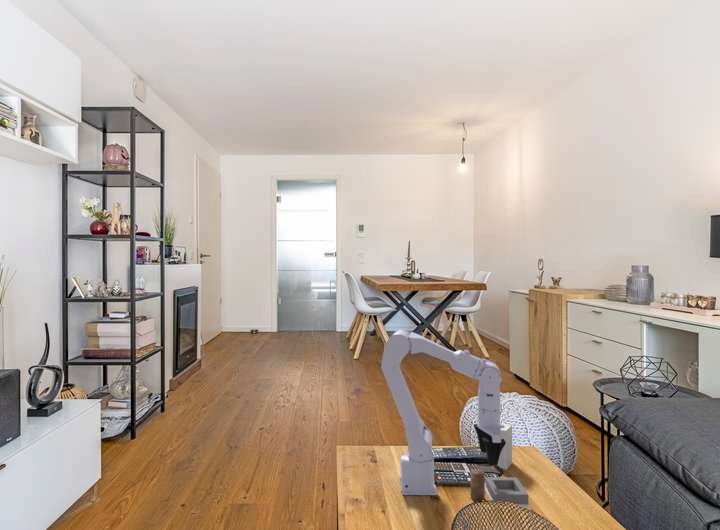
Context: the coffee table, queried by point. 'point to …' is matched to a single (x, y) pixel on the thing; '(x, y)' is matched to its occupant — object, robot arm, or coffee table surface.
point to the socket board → (506, 490)
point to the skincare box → (506, 447)
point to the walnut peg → (477, 485)
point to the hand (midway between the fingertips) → (488, 458)
